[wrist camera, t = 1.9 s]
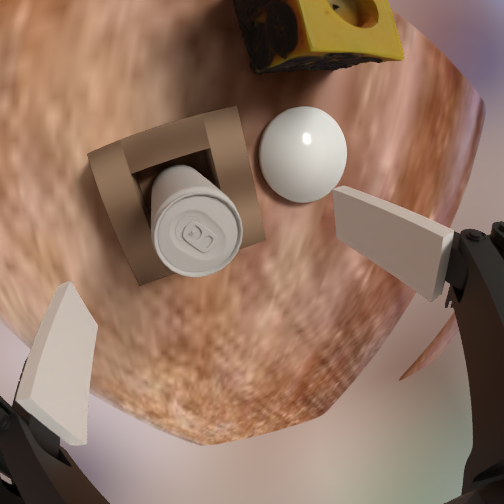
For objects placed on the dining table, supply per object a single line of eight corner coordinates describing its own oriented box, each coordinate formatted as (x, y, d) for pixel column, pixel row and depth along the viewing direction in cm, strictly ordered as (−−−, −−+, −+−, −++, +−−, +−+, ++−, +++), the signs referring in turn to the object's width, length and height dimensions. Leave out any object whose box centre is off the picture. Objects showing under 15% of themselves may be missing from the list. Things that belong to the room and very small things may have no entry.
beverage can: (175, 152, 22) (194, 168, 12) (214, 185, 24) (263, 227, 14) (140, 195, 22) (131, 248, 12) (181, 225, 25) (205, 294, 15)
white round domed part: (248, 115, 23) (251, 114, 22) (335, 102, 25) (339, 102, 24) (268, 212, 28) (271, 214, 27) (346, 188, 30) (350, 189, 29)
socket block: (96, 151, 19) (86, 153, 16) (225, 109, 22) (236, 105, 19) (140, 267, 25) (139, 285, 22) (252, 227, 28) (265, 240, 25)
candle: (228, -8, 16) (269, -61, 8) (316, -5, 18) (376, -35, 10) (250, 77, 21) (306, 52, 13) (336, 71, 23) (407, 61, 15)
